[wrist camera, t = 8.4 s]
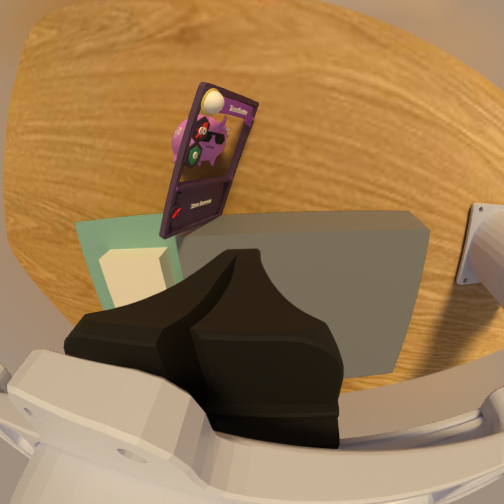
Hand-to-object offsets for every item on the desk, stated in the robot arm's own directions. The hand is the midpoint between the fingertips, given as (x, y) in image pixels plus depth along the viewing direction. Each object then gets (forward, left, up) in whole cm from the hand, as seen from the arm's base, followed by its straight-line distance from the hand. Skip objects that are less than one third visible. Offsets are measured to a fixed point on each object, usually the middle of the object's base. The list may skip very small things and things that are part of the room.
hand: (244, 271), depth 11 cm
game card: (+4, -4, -11) cm, 12 cm away
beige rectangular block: (+11, +8, -8) cm, 16 cm away
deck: (-3, +8, -10) cm, 13 cm away
